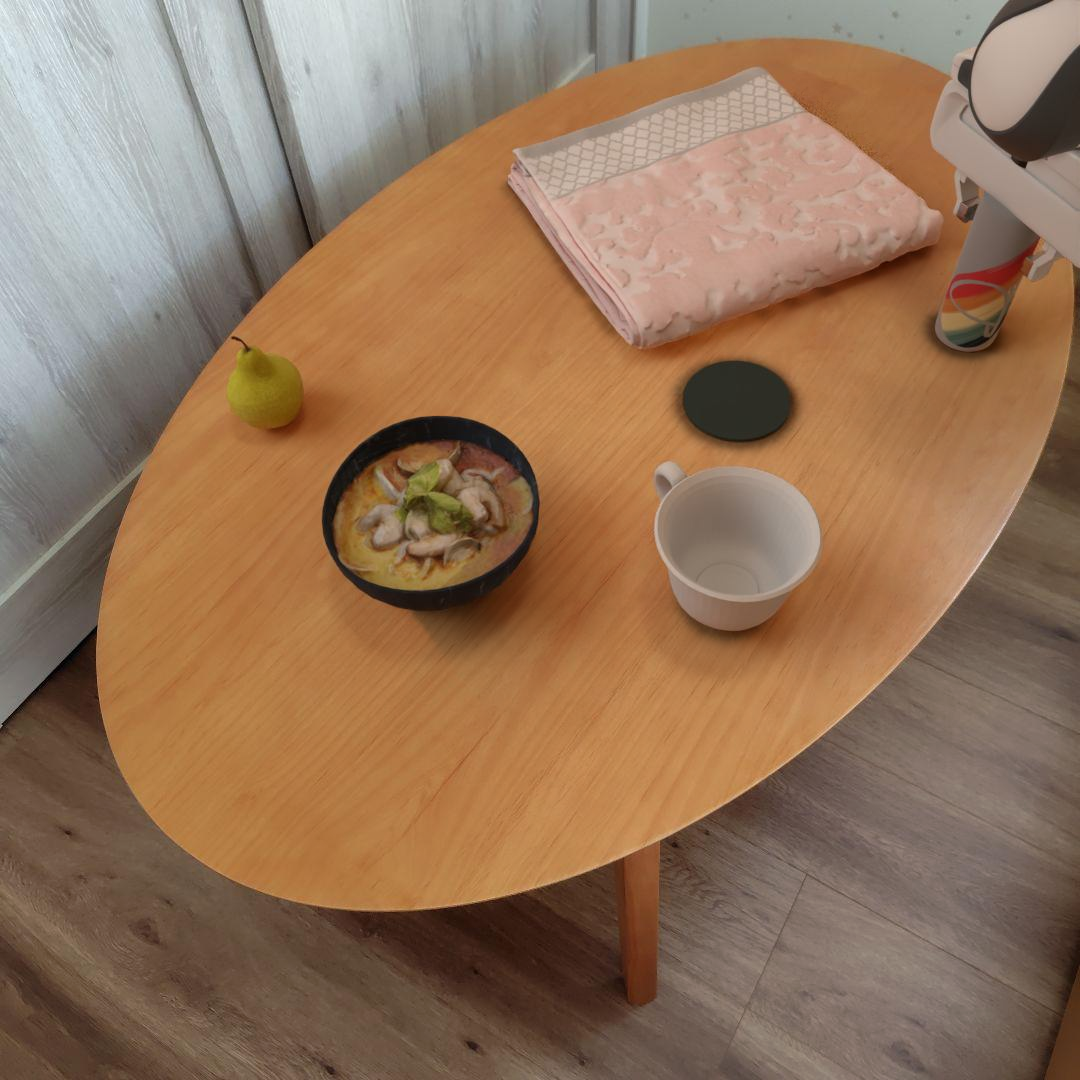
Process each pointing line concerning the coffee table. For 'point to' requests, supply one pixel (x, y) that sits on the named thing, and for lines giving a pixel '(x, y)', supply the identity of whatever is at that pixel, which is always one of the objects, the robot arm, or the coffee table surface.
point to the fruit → (264, 388)
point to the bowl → (431, 513)
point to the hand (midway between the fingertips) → (997, 245)
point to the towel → (714, 207)
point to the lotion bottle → (985, 276)
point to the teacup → (733, 542)
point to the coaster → (736, 401)
